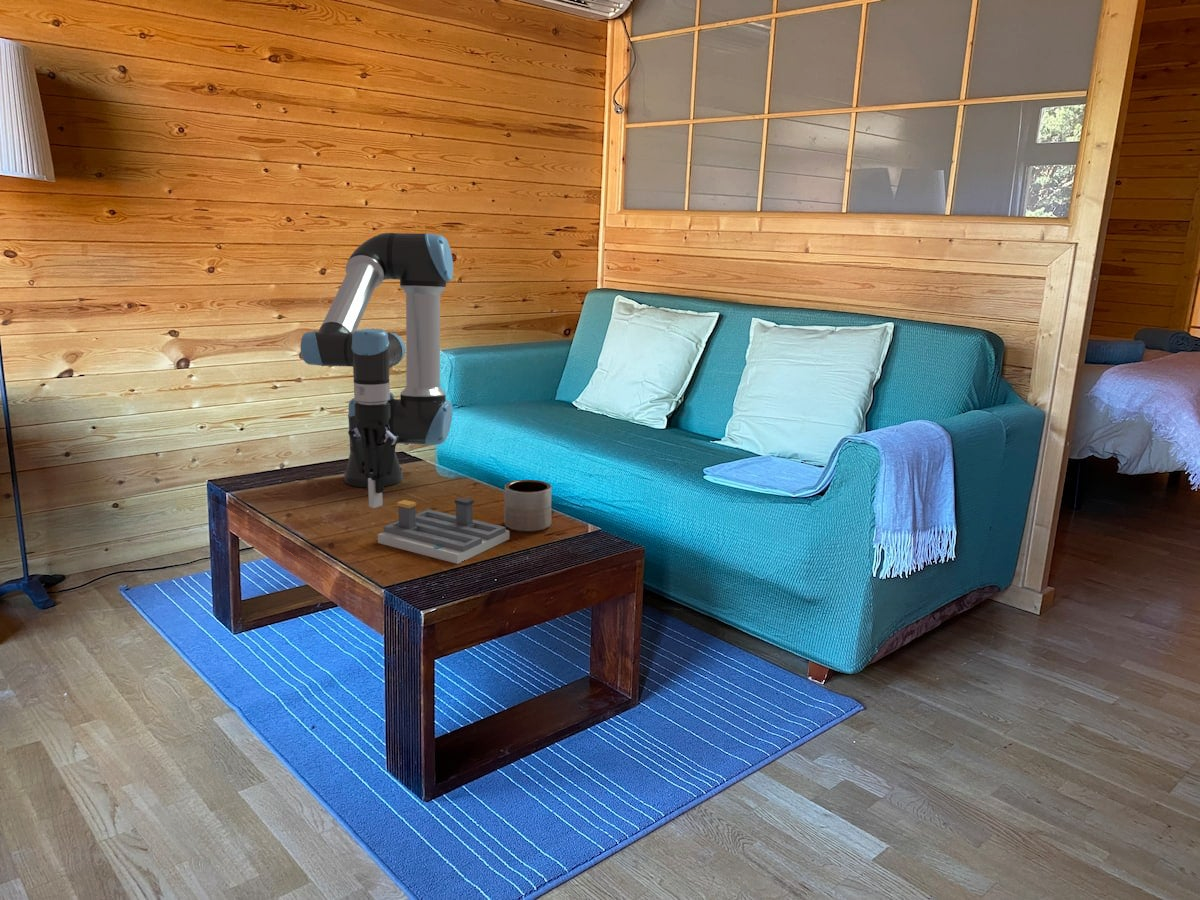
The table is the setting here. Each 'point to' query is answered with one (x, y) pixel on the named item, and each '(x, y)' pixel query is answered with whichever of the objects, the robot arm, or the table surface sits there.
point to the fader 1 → (407, 515)
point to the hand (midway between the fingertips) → (375, 505)
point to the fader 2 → (464, 512)
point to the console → (443, 537)
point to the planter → (527, 505)
